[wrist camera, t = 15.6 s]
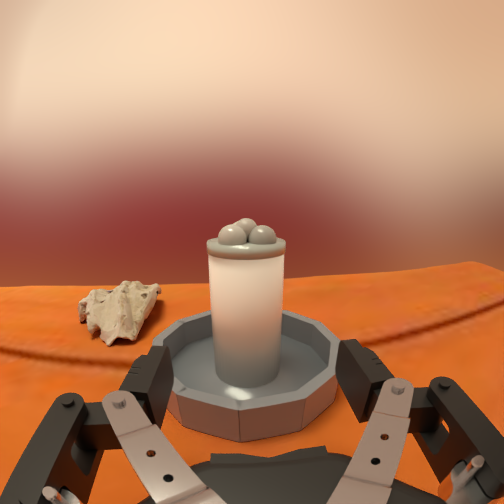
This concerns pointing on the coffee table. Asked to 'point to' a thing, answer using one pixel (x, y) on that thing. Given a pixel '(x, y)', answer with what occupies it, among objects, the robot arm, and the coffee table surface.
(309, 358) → the bowl
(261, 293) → the pebble cup
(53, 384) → the coffee table surface
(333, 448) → the coffee table surface
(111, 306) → the coral
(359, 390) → the robot arm
